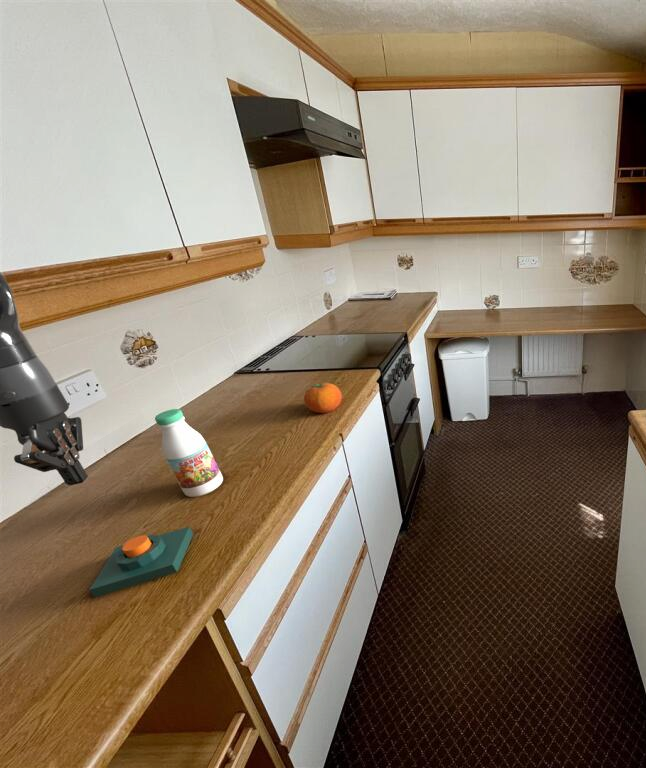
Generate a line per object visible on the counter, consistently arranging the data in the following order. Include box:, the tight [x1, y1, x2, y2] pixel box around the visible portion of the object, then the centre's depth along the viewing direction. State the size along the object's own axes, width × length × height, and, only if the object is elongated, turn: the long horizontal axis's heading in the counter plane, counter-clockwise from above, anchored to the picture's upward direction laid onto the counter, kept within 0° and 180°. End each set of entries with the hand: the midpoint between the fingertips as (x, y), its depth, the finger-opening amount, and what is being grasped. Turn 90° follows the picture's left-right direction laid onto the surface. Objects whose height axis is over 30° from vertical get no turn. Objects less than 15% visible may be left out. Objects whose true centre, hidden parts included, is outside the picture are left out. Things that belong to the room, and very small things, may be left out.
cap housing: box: [88, 526, 194, 598], centre depth 75 cm, size 12×10×4 cm
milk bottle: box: [154, 408, 224, 498], centre depth 91 cm, size 8×8×20 cm
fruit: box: [303, 382, 343, 414], centre depth 125 cm, size 11×10×8 cm
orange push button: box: [122, 535, 152, 558], centre depth 74 cm, size 4×4×2 cm
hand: (78, 481), depth 69 cm, fingers closed
